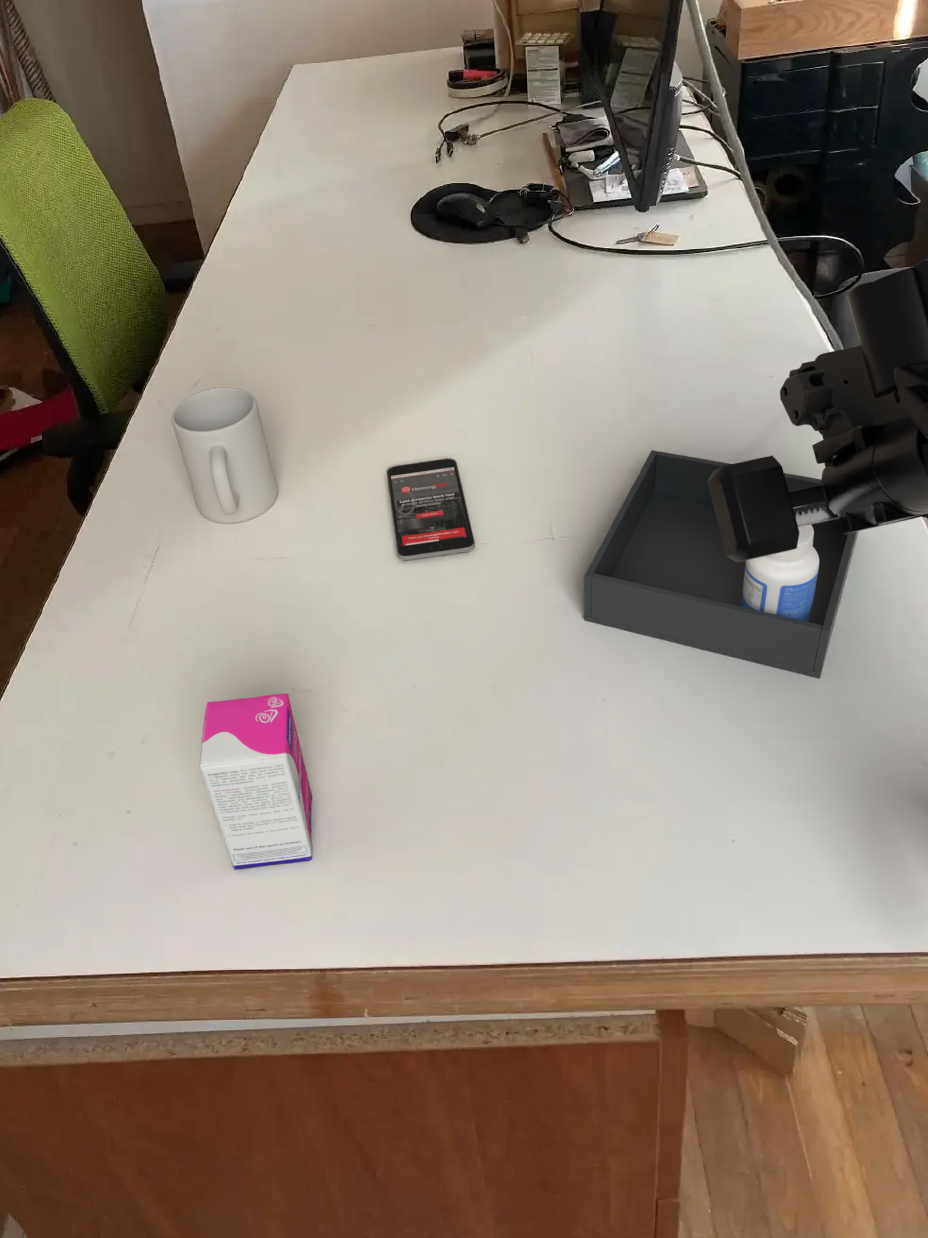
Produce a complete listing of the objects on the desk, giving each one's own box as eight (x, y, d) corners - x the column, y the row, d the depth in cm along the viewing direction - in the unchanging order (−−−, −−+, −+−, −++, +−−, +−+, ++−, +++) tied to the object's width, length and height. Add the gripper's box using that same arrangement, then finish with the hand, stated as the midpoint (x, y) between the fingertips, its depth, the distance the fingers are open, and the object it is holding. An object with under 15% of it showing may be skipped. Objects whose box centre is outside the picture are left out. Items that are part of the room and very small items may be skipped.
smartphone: (397, 557, 95) (386, 466, 106) (398, 563, 95) (386, 472, 107) (475, 546, 95) (455, 457, 106) (476, 552, 95) (455, 462, 107)
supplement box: (316, 861, 71) (286, 757, 64) (232, 872, 71) (192, 768, 64) (316, 794, 76) (288, 689, 68) (237, 804, 76) (200, 700, 69)
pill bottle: (813, 608, 84) (832, 515, 78) (801, 652, 81) (819, 558, 75) (746, 594, 87) (758, 502, 80) (731, 636, 83) (743, 543, 77)
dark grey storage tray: (858, 532, 92) (868, 487, 89) (819, 679, 79) (829, 632, 76) (649, 492, 100) (651, 449, 96) (584, 620, 87) (584, 575, 84)
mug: (198, 482, 109) (172, 394, 102) (277, 469, 109) (256, 380, 102) (195, 552, 100) (166, 460, 93) (281, 537, 100) (259, 444, 93)
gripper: (1028, 302, 61) (890, 378, 76) (733, 362, 59) (653, 427, 75) (1081, 482, 60) (930, 522, 75) (782, 548, 58) (690, 575, 74)
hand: (801, 507), depth 75 cm, fingers open, 9 cm apart
